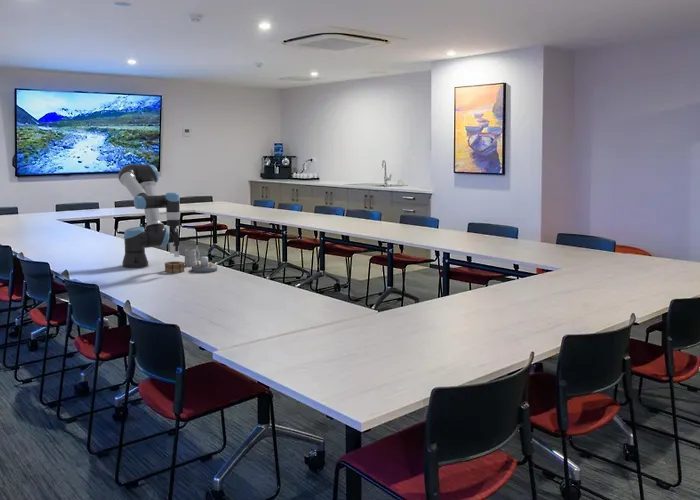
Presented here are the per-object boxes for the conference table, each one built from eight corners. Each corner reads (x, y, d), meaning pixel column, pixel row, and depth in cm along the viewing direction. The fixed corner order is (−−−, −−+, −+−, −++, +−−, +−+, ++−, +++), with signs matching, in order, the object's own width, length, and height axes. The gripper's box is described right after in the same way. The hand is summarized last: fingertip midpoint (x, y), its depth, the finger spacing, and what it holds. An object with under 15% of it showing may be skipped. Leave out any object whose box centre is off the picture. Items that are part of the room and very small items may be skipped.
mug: (181, 265, 390) (180, 246, 388) (195, 262, 399) (195, 244, 397) (190, 266, 386) (189, 247, 384) (204, 264, 395) (203, 245, 393)
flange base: (186, 271, 372) (186, 258, 370) (200, 267, 386) (200, 254, 384) (208, 273, 367) (208, 260, 365) (221, 269, 381) (221, 256, 379)
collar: (166, 273, 364) (166, 265, 363) (163, 270, 374) (163, 262, 373) (185, 272, 369) (185, 264, 368) (182, 269, 378) (182, 260, 378)
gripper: (183, 221, 357) (185, 257, 360) (176, 216, 379) (177, 251, 382) (170, 221, 354) (171, 258, 357) (163, 217, 376) (164, 252, 379)
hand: (174, 255), depth 369 cm, fingers open, 13 cm apart
